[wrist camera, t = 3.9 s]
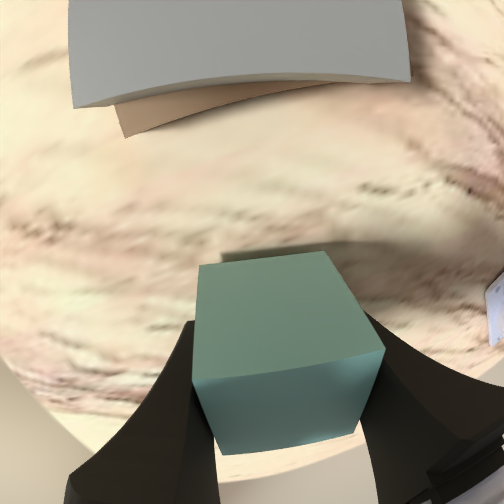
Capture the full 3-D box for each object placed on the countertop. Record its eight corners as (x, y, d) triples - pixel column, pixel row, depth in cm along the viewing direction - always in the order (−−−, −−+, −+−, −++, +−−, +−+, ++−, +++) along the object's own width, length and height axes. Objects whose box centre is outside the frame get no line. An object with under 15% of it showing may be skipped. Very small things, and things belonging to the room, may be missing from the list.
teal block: (324, 250, 11) (385, 348, 6) (317, 339, 13) (353, 433, 8) (199, 265, 10) (191, 380, 6) (217, 353, 13) (222, 455, 8)
